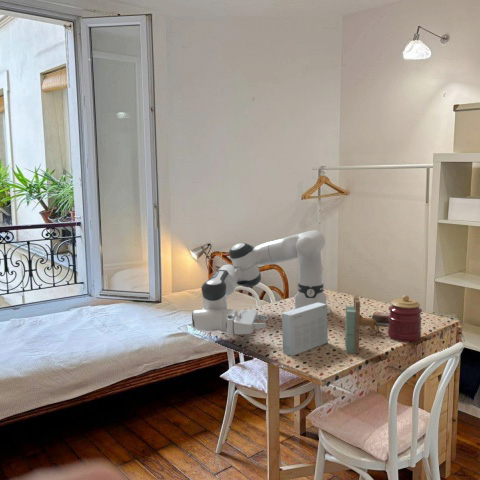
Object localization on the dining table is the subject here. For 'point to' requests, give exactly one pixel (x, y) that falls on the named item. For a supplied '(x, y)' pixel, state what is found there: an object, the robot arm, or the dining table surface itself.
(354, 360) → the dining table surface
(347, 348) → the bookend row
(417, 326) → the canister
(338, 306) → the dining table surface
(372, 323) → the lion figurine
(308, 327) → the skincare box
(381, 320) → the packaged product
